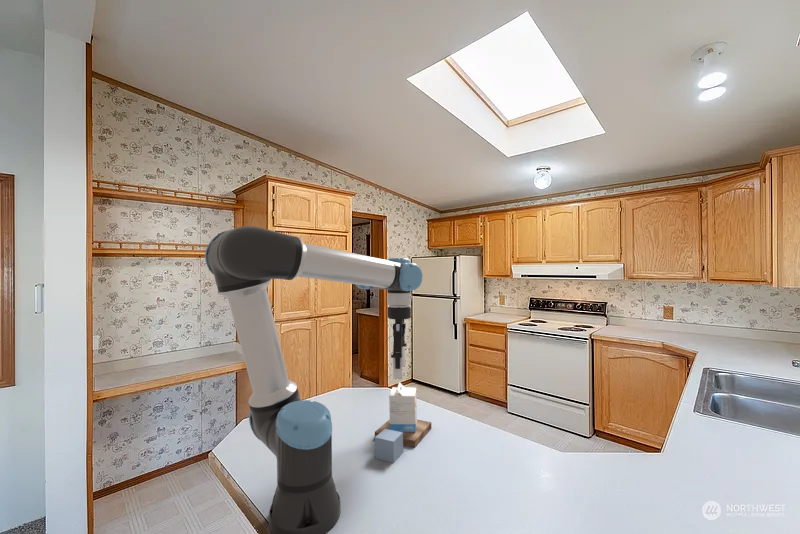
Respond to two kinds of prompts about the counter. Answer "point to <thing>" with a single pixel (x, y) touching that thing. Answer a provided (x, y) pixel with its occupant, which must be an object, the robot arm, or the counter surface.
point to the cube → (389, 445)
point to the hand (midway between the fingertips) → (399, 372)
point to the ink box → (403, 409)
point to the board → (410, 437)
